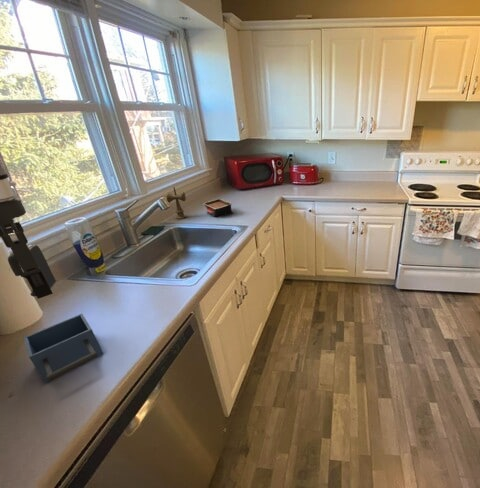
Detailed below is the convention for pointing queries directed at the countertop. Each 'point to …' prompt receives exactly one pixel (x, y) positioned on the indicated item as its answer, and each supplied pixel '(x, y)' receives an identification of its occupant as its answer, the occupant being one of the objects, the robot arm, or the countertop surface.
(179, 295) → the countertop surface
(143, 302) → the countertop surface
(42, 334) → the handled carry box
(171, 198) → the kendama
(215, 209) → the square planter pot
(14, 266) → the battery charger
